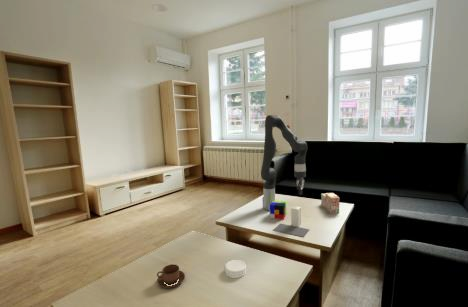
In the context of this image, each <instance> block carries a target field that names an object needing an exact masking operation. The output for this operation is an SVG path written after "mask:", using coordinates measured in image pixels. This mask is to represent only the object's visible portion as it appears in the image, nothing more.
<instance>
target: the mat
mask: <svg viewBox="0 0 468 307" xmlns="http://www.w3.org/2000/svg"><path fill="white" fill-rule="evenodd" d="M272 231H274V232H277V233H282V234H286V235H292V236H297V237H300V238H304V237H305V236H306V235H307V233H308V232H310V229H309V228H305V227H300V226H299V227H296V226H291V224H284V223H279V224H278V225H277V226H275V228H273V229H272Z"/></svg>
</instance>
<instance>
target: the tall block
mask: <svg viewBox="0 0 468 307" xmlns="http://www.w3.org/2000/svg"><path fill="white" fill-rule="evenodd" d="M290 218H291V219H290V222H291V223H290V226H295V227H300V226H301V225H302V207H301V206H295V205H294V206H292V207H291V208H290Z"/></svg>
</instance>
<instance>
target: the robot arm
mask: <svg viewBox="0 0 468 307" xmlns="http://www.w3.org/2000/svg"><path fill="white" fill-rule="evenodd" d="M273 128H276V129H279V131H280V132H281V135H282V137H283V139H284V140H285V141H286V142H287V143H288V144H289V146H290V148H291V149H292V150H293V152H295V153H298V154H296V155H295V156H294V170H293V171H294V178H296V183H295V187H296V190H298V195H300V196H302V195H303V189H304V186H305V183H306V182H305V181H306V180H305V179H304V178H306V177H307V175H306V174H307V173H306V172H307V167H306V155H307V152H308V144H307V142H306V141H304V140H300V141H298V137H297V135H296V133H294V132H292V130H290V129H289V127H288V126H287V124H286V123H285V122H284V121H283V119H282V118H281V116H280V115H276V114H275V115H273V114H272V115H271V114H268V115H267V116H266V117H265V120H264V145H263V154H262V155H263V158H262V164H261V169H260V177H261V179H262V180H263V181H265V183H263V185H262V187H263V189H262V190H263V191H262V192H263V194H262V195H263V196H262V209H263V210H265V211H270V204H271V203H272V201H276V182H277V175H276V174H277V172H276V170H275V168H274V167H271V163H272V162H273V159H274V157H275V156H276V155H275V154H276V151H277V143H276V140H275V138H274V134H273Z"/></svg>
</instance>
